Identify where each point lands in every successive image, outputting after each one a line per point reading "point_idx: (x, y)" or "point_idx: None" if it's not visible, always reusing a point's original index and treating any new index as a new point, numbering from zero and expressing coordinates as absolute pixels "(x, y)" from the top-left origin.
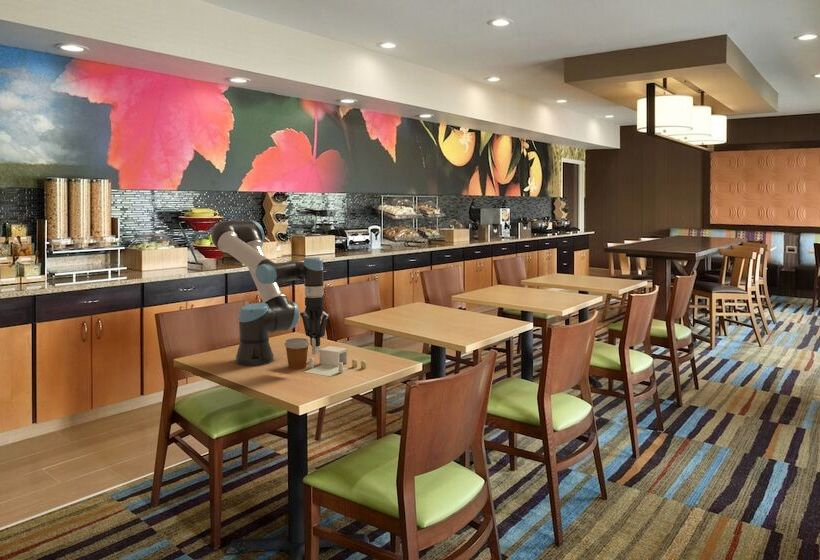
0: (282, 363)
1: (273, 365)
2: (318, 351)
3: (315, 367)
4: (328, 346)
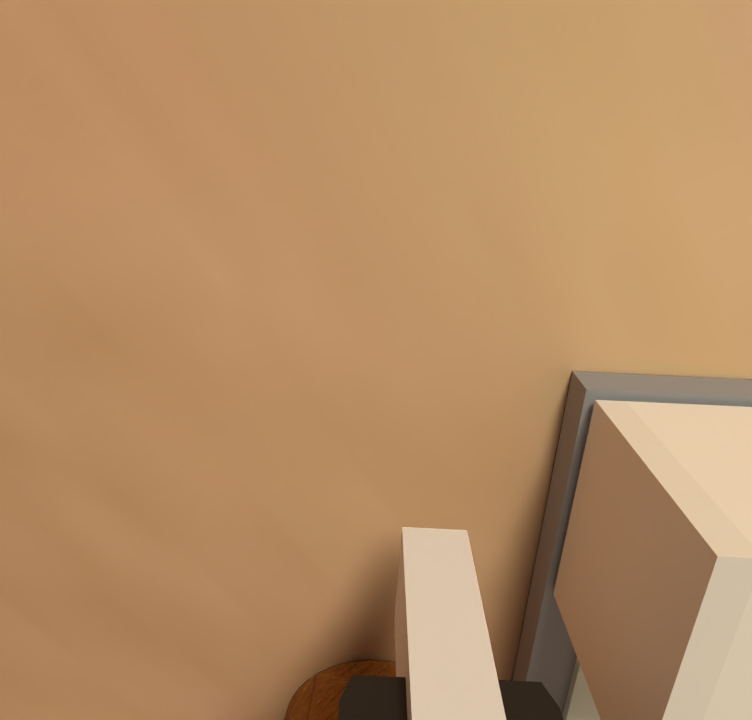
0: (26, 592)
1: (11, 680)
2: (471, 569)
3: (574, 714)
4: (719, 597)
